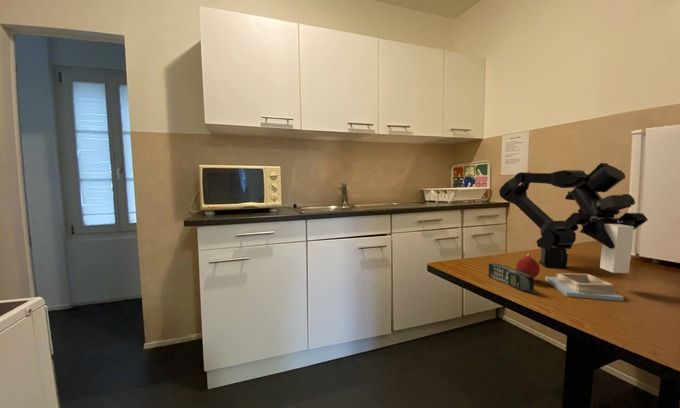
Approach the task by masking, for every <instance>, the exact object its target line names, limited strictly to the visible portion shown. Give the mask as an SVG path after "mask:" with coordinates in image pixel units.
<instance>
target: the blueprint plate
mask: <svg viewBox="0 0 680 408" xmlns="http://www.w3.org/2000/svg"><path fill="white" fill-rule="evenodd" d="M545 281H546V282H548V283H549V284H550V285H551V286H553V287H554V288H555V289H557V290H558V291H559V292H561V293H562V294H563V295H564V296H566V297H572V298H582V299H583V298H584V299H594V300H604V301H605V300H606V301H607V300H608V301H617V302H618V301H619V302H624V298H625V296H622V295H620V294H619V293H617V292H615V291H614V293H596V292H577V291H576V290H574V289H572V288H570V287H568V286H566V285H564V284H562V283H561V282H559V281H557V280H556V276H547V275H546V276H545ZM576 282H578V283H582V284H591V283H588V282H582V281H576Z"/></svg>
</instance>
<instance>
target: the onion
mask: <svg viewBox="0 0 680 408" xmlns="http://www.w3.org/2000/svg"><path fill="white" fill-rule="evenodd" d="M515 269H516V270H519V271H521V272H524V273H526V274H529V275H531V276H532V277H533V279H535V278H536V277H537V276H538V275H539V274H540V271H541V270H540V265H539V262H538V261H537V260H535V259H534V258H533V257H532V256H531V254H530V253H527V254H526V255H525V256H524V257H522V258H520V259H519V260H518V261H517V262H516V268H515Z"/></svg>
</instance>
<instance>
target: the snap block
mask: <svg viewBox="0 0 680 408" xmlns="http://www.w3.org/2000/svg"><path fill="white" fill-rule="evenodd" d="M604 229H605V230H606V232H607V234H608V235H609V237H610V238H611V240H612V242H613V244H614V246H615V247H614V248H613V249H610V248H609V247H607V246H605V245H604V244H602V243H601V251H600V252H601V253H600V260H599V261H600V264H599V268H600V269H601V270H602V269H603V270H605V271H608V272H610V273H613V274H617V273H618V274H629V273H630V266H631V265H630V264H631V259H632V258H631V256H632V249H633V238H634V227H633V226H628V225H623V224H604Z"/></svg>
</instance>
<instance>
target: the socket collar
mask: <svg viewBox="0 0 680 408" xmlns="http://www.w3.org/2000/svg"><path fill="white" fill-rule="evenodd" d="M555 277H556V280H557V281H559V282H561V283H562V284H564V285H566V286H568V287H570V288H572V289H574V290H576V291H577V292H596V293H614V292H615V286H616V285H615V284H612V283H610V282H608V281H606V280H604V279H600V278H598V277H596V276H594V275H591V274H589V273H567V272H565V273H564V272H563V273H562V272H556V273H555ZM576 281H582V282H588V283H591V284H582V283H578V282H576Z"/></svg>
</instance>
